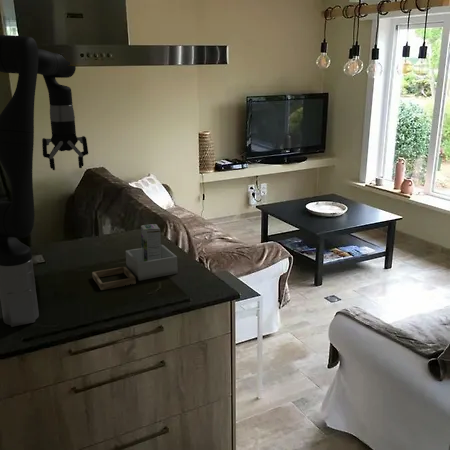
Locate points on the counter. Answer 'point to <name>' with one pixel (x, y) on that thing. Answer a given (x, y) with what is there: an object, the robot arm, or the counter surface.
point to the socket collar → (113, 284)
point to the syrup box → (150, 242)
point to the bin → (151, 264)
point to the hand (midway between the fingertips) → (67, 168)
